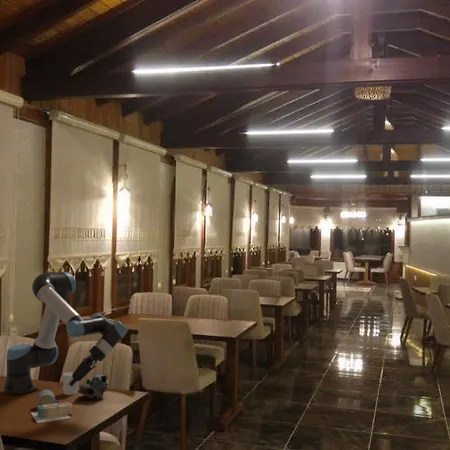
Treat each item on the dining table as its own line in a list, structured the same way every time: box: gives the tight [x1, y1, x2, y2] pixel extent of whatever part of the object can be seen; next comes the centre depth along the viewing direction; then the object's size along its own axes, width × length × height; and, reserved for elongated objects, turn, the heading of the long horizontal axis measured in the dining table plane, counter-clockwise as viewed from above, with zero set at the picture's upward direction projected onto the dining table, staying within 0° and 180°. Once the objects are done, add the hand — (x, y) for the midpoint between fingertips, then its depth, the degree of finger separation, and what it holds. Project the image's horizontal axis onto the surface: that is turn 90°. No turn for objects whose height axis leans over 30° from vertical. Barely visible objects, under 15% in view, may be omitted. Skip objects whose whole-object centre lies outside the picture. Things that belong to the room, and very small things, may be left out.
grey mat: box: [30, 411, 71, 424], centre depth 256 cm, size 16×14×1 cm
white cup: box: [62, 371, 80, 396], centre depth 293 cm, size 8×8×10 cm
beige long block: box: [37, 401, 73, 419], centre depth 257 cm, size 6×4×14 cm
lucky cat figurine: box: [78, 373, 110, 401], centre depth 286 cm, size 15×12×14 cm
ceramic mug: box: [37, 389, 62, 406], centre depth 269 cm, size 11×8×8 cm
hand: (64, 390), depth 259 cm, fingers closed
